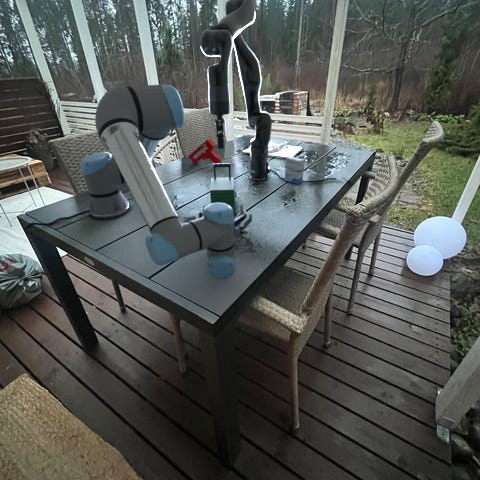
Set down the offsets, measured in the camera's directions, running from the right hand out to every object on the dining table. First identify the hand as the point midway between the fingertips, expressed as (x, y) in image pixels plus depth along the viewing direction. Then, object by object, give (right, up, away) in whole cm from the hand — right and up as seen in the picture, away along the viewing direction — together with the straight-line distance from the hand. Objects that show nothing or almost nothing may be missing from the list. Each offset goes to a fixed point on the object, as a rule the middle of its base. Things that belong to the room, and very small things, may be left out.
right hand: (221, 145), depth 107 cm
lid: (0, -15, +5) cm, 16 cm away
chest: (0, -24, +10) cm, 26 cm away
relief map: (+31, +26, +87) cm, 96 cm away
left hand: (+1, -26, -6) cm, 26 cm away
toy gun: (-14, +11, +64) cm, 66 cm away
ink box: (+36, -6, +37) cm, 52 cm away
